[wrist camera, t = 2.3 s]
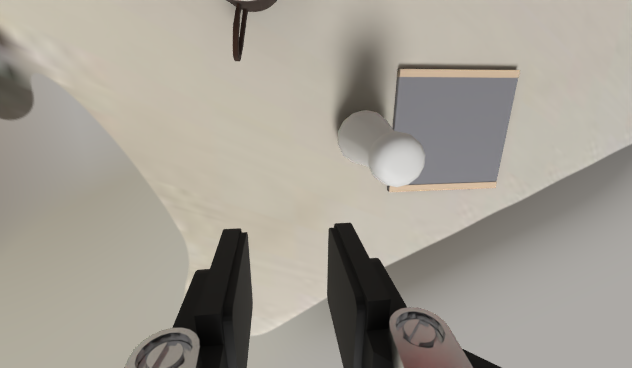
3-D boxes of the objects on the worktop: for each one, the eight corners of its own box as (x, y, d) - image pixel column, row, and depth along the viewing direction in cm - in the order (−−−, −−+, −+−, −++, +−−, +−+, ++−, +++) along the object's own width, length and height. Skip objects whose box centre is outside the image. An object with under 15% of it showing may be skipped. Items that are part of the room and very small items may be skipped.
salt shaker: (389, 114, 35) (451, 134, 23) (375, 162, 37) (425, 204, 24) (340, 103, 34) (377, 117, 22) (328, 153, 35) (356, 192, 23)
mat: (515, 70, 35) (520, 70, 34) (491, 186, 40) (495, 187, 39) (397, 69, 33) (400, 68, 33) (387, 190, 38) (389, 192, 37)
